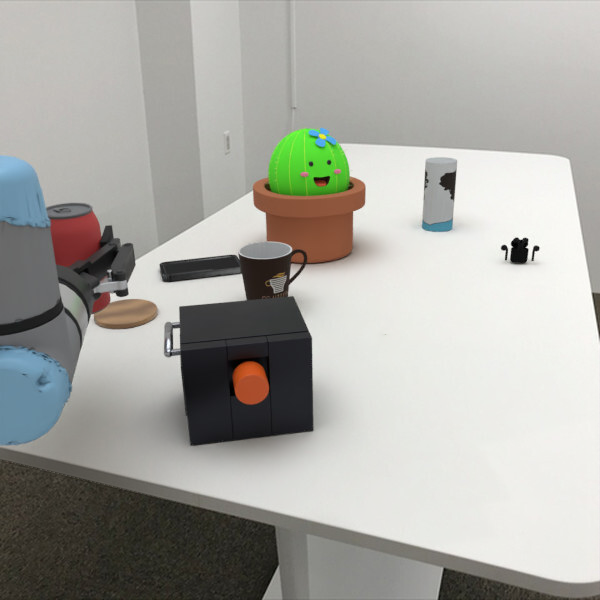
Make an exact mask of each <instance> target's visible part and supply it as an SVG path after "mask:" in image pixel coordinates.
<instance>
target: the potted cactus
mask: <svg viewBox="0 0 600 600" xmlns="http://www.w3.org/2000/svg"><path fill="white" fill-rule="evenodd" d="M315 127H316V126H314V127H313V128H309V127H308V128H307V127H306V125H303V128H302V127H300V128H299V129H297V130H296V128H294V130H293V131H291V130H289V133H287V135H286V136H284V137H283V138H281V139H278V141H279V142H278V143H277V145H276V146H273V152H272V153H271V156H270V160H269V161H268V162H269V163H268V169H267V172H265V174H266V175H265V177H263V178H262V179H259V180H257V181H255V182H254V183H253V185H252V198H253V199H252V200H253V206H254V207H255V208H256V209H257V210H258V211H260V212H262V213H264V214H265V228H266V229H265V230H266V242H280V243H285V244H287V245H289V246H291V247H292V251H293V250H296V249H300V250H303V251H305V252H306V254H307V264H315V263H324V262H331V261H336V260H339V259H342V258H345V257H346V256H348V255H349V254H351V253H352V251H353V248H354V212H356V211H358V210H360V209H362V208H364V206H365V205H366V183H365V182H364V181H362V180H361V179H360V178H357V177H354V176H350V175H351V172H352V170H351V169H350V164H349V161H348V158H347V156H346V153H345V152H346V151H347V149H346V150H344V149H343V148H342V146H341V145H342V144H339V142H338V141H337V139H336V138H335V137H333V136H331V135H330V134H329V133H330V130H328V129H327V128H324V127H319V126H317V127H316V128H315ZM303 262H304V256H303V254H302V253H296V254H294V255H293V256H292V259H291V263H294V264H295V263H296V264H303Z"/></svg>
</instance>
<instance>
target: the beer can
mask: <svg viewBox="0 0 600 600" xmlns="http://www.w3.org/2000/svg"><path fill="white" fill-rule="evenodd" d="M46 210H47V215H48V218H49V219H50V221H51V225H50V229H51V236H52V243H53V249H54V256H55V262H56V265H61V266H64V267H69V266H71V265H72V264H73V263H75V262H76V261H77V260H86V259H87V258H88V257H90V256H91V255H93V254H94V253H95V252H97V251H98V250H99V249H101V246H100V240H101V237H102V230H101V224H100V222H99V219H98V217H97V215H96V214H95V211H93V206H92V205H91V204H89V203H86V202H85V203H84V202H63V203H58V204H57V203H56V204H53V205H49V206H46ZM105 277H106V276H105ZM105 277H104V278H105ZM104 278H103V279H104ZM103 279H102V280H103ZM109 303H111V293H110V292H104V293H102V294H101V297H100V298H99V299H98V300H96V301H95V302H94V305H93V310H92V313H91V316H92V315H94V314H95V313H98V312H100V311H102V310H103V309H105V308H106V307H107V306H108V305H109Z"/></svg>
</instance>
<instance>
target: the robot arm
mask: <svg viewBox="0 0 600 600" xmlns="http://www.w3.org/2000/svg"><path fill="white" fill-rule="evenodd" d="M46 207H47V205H46V202H45V198H44V194H43V189H42V187H41V183H40V180H39V176H38V173H37V171H36V169H35V168H34V167H33V166H32V165H31V164H30V163H29V162H27V160H24V159H21V158H18V157H16V156H13V155H12V156H11V155H3V154H2V155H0V446H19V445H24V444H28V443H31V442H34V441H36V440H38V439H40V438H41V437H43V436H44V435H46V434H47V433H48V432H49V431H50V430H51V429H52V428H53V427H54V426H55V425H56V424H57V422H58V421H59V419H60V417H61V415H62V412H63V409H64V407H65V405H66V403H68V400H69V399H70V397H71V393H72V392H73V380H74V377H75V373H76V369H77V365H78V361H79V358H80V354H81V351H82V347H83V343H84V340H85V336H86V333H87V330H88V326H89V324H90V321H91V317H92V315H91V313H92V310H93V305H94V302H95V301H96V300H98V299H99V298H100V297H101V294H102V293H104V292H110V295H111V294H115V295H116V297H118V298H124V297H127V296H129V295H130V294H129V292H130V291H129V287H128V283H129V282H130V279H131V276H132V274H133V272H134V270H135V267H136V255H135V248H134V244H133V243H132V242H126V243H121V239H120V238H119V237H114V230H113V229H114V228H113V225H111V224H110V225H105V226H104V228H103V232H102V234H101V240H100V246H101V249H99V250H98V251H97V252H95V253H94V254H93V255H91V256H90V257H88V258H87V259H86V260H77V261H76V262H75V263H73V264H72V265H71V266H69V267H64V266H61V265H56V262H55V256H54V249H53V243H52V236H51V229H50V225H51V221H50V219H49V218H48V215H47V210H46ZM105 276H106V277H105ZM104 277H105V278H104ZM103 278H104V279H103ZM102 279H103V280H102Z"/></svg>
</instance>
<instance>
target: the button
mask: <svg viewBox="0 0 600 600" xmlns="http://www.w3.org/2000/svg"><path fill="white" fill-rule="evenodd" d="M233 384H234V390H235V394H236V397H237V398H238V399H239V400H240V401H241V402H243V403H245V404H257V403H259V402H261V401H263V400H264V399H265V398H266V396H267V395H268V392H269V384H268V380H267V377H266V373H265V370H264V368H263V367H262V366H261V365H260V364H259V363H257V362H253V361H248V362H244V363H241V364H240V365H238V366H237V367H236V368H235V370H234V372H233Z"/></svg>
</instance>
